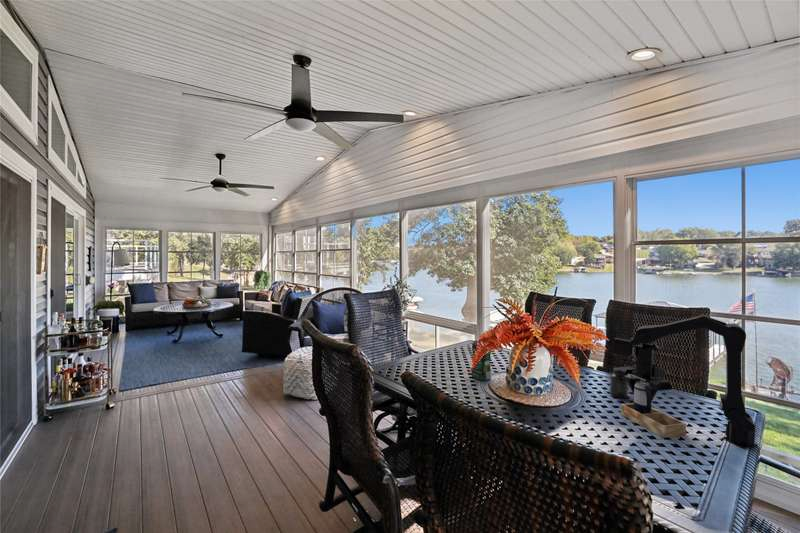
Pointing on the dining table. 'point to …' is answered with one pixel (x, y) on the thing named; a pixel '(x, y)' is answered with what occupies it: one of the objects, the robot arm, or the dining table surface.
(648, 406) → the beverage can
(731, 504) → the dining table surface
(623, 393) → the supplement bottle
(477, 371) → the coffee jar
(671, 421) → the caddy
